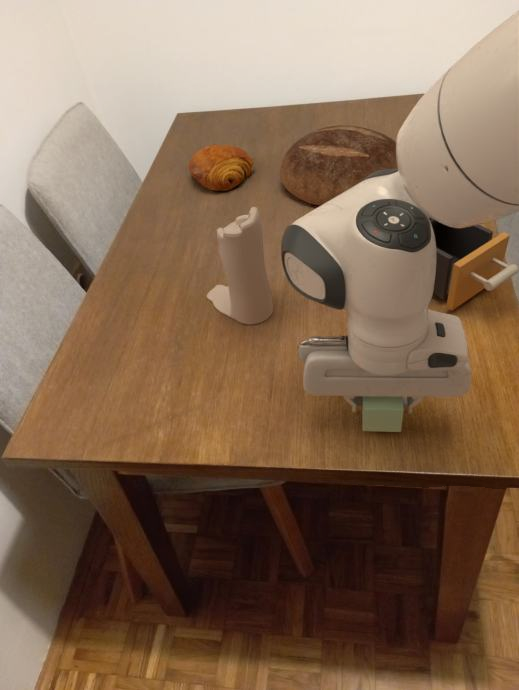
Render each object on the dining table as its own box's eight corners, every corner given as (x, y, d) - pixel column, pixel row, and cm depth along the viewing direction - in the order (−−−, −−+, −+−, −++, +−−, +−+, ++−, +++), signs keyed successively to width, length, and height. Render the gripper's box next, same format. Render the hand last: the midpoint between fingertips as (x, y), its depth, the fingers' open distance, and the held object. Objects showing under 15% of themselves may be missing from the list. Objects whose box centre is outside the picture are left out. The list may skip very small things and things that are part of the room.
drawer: (521, 291, 85) (535, 246, 79) (474, 324, 81) (484, 280, 75) (435, 244, 96) (441, 202, 90) (390, 272, 92) (393, 230, 86)
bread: (311, 145, 130) (309, 104, 123) (418, 158, 120) (423, 115, 112) (262, 199, 116) (256, 157, 109) (379, 220, 105) (381, 175, 98)
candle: (223, 279, 98) (202, 182, 84) (281, 305, 91) (269, 205, 77) (197, 301, 95) (169, 204, 80) (255, 330, 88) (236, 229, 73)
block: (398, 401, 73) (401, 379, 69) (401, 432, 70) (403, 409, 66) (362, 401, 74) (362, 378, 70) (362, 431, 70) (363, 409, 67)
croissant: (207, 207, 120) (200, 178, 114) (184, 171, 129) (177, 142, 123) (264, 186, 123) (261, 156, 116) (237, 152, 132) (233, 123, 125)
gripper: (294, 357, 60) (302, 426, 70) (483, 357, 57) (464, 430, 66) (298, 319, 64) (305, 389, 74) (474, 316, 61) (457, 391, 71)
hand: (381, 408), depth 70 cm, fingers closed on block, 5 cm apart
